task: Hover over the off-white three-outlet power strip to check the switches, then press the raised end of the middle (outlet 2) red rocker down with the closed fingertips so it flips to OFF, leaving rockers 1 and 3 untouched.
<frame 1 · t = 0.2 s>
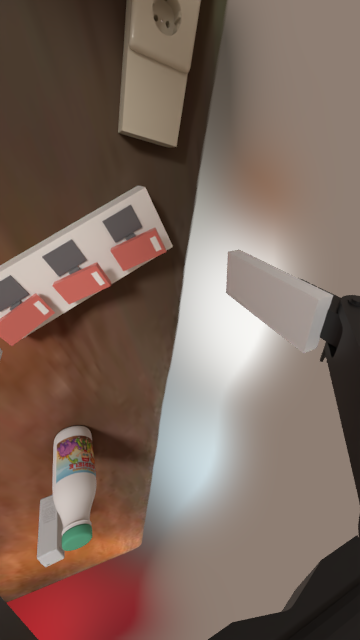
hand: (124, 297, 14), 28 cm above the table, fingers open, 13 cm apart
rocker 1: (24, 319, 33), point 6 cm above the table, hinge at -18.0°
rocker 3: (138, 250, 34), point 6 cm above the table, hinge at 18.0°
electrical outlet: (153, 52, 30), on the table
power strip: (73, 261, 38), on the table
milk bottle: (73, 435, 56), on the table
skincare box: (52, 500, 64), on the table
rocker 2: (82, 284, 34), point 6 cm above the table, hinge at 18.0°
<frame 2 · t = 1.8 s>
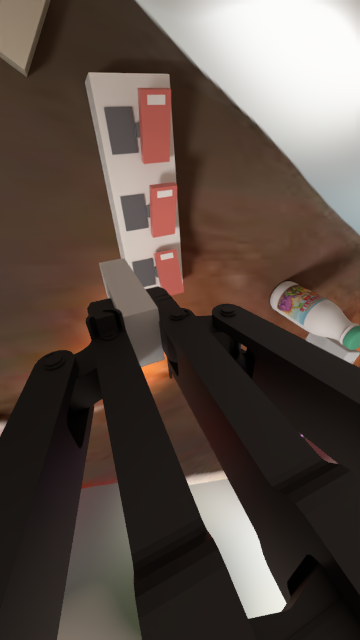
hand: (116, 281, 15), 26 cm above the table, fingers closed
rocker 1: (169, 273, 39), point 6 cm above the table, hinge at -18.0°
rocker 3: (155, 128, 29), point 6 cm above the table, hinge at 18.0°
power strip: (140, 206, 38), on the table
milk bottle: (281, 294, 61), on the table
skincare box: (313, 334, 76), on the table
rocker 2: (163, 211, 34), point 6 cm above the table, hinge at 18.0°
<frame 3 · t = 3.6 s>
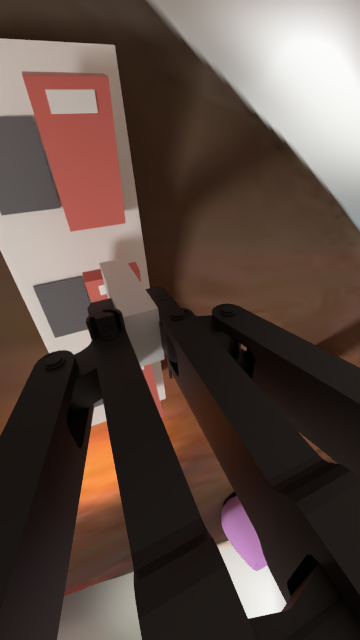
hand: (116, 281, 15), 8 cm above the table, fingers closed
rocker 1: (138, 390, 23), point 6 cm above the table, hinge at -18.0°
rocker 3: (84, 163, 13), point 6 cm above the table, hinge at 18.0°
power strip: (89, 282, 22), on the table
teapot: (244, 495, 68), on the table
rocker 2: (118, 308, 18), point 6 cm above the table, hinge at 17.5°, touching gripper
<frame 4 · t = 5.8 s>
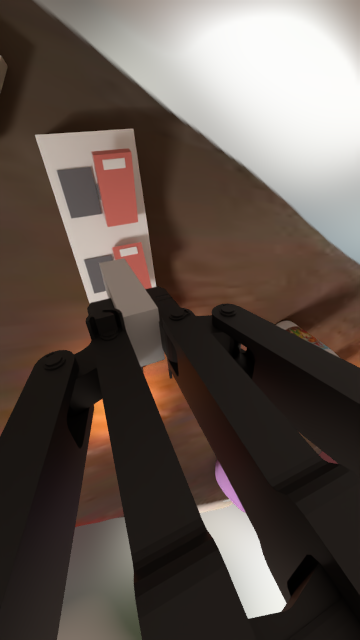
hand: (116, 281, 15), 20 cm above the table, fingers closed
rocker 3: (117, 190, 25), point 6 cm above the table, hinge at 18.0°
power strip: (113, 260, 34), on the table
milk bottle: (278, 333, 56), on the table
teapot: (235, 454, 80), on the table
rocker 2: (133, 273, 30), point 6 cm above the table, hinge at -20.7°
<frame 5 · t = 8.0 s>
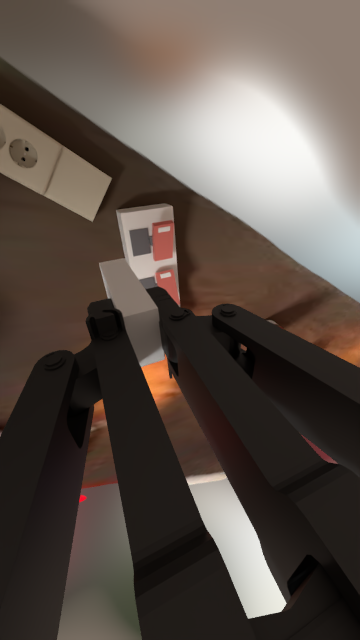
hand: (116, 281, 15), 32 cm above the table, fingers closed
rocker 3: (163, 241, 43), point 6 cm above the table, hinge at 18.0°
electrical outlet: (40, 163, 36), on the table
power strip: (151, 279, 52), on the table
rocker 2: (167, 288, 47), point 6 cm above the table, hinge at -20.7°
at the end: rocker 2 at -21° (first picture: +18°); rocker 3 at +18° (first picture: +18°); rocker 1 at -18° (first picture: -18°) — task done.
